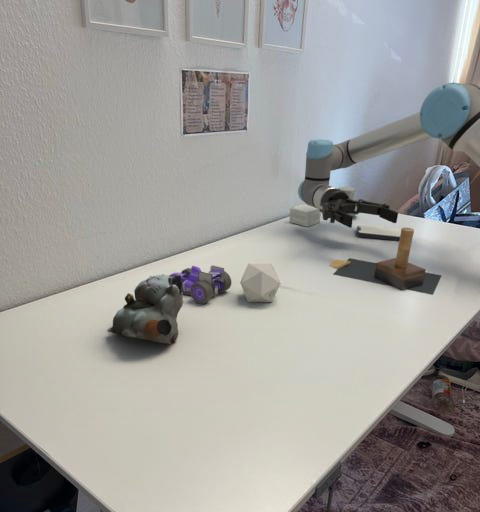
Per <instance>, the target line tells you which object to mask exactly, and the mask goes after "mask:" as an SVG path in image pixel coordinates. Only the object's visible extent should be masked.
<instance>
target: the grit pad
mask: <svg viewBox="0 0 480 512" xmlns="http://www.w3.org/2000/svg"><path fill="white" fill-rule="evenodd" d="M348 264H350V261H347V260H341V259H334V260H333V261H332V262H330V263H329V264H328V266H329V267H331V268H334V269H336V270H338V269H339V268H341V267H343V266H346V265H348Z"/></svg>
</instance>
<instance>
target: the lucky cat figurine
mask: <svg viewBox="0 0 480 512" xmlns="http://www.w3.org/2000/svg"><path fill="white" fill-rule="evenodd" d="M182 288H183V286H182V282H181V275H178V276H175V277H174V278H172V277H169V275H167V274H156V275H149V277H148V278H146V279H144V280H142V281H140V282H139V283H138V285H136V286H135V288H134V291H133V292H134V295H133V294H132V293H130V292H129V293H127V294H126V295H125V297H124V301H125V302H126V304H124V305H123V307H122V308H120V309H119V310H117V311H116V313H115V315H114V316H113V318H112V326H111V327H109V328H108V329H106V332H107V333H111V334H115V335H119V336H120V337H127V338H132V339H137V340H147V341H151V342H155V343H160V344H168V345H169V344H171V345H173V344H175V343H176V340H177V339H178V337H179V327H178V321H177V318H178V314H179V312H180V311H181V309H182V308H183V304H184V299H183V297H184V296H183V295H184V294H182V292H181V290H182Z"/></svg>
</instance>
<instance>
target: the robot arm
mask: <svg viewBox="0 0 480 512" xmlns="http://www.w3.org/2000/svg"><path fill="white" fill-rule="evenodd" d="M431 138H434V139H437V140H441V141H442V142H443V143H444V144H445V145H446V146H447V147H448V148H449V149H450V150H451V151H452V152H456V153H457V152H459V153H460V152H464V153H465V154H466V156H468V157H469V158H470V159H471V160H472V161H473V162H474V163H475V164H476V165H477V167H479V168H480V86H479V85H477V84H474V83H458V82H447V83H444V84H442V85H439V86H437V87H435V88H433V89H432V90H431V91H430V92H429V93H427V95H426V97H425V98H424V99H423V102H422V104H421V107H420V110H419V111H418V112H416V113H413V114H411V115H408V116H406V117H404V118H400V119H398V120H395V121H393V122H391V123H388V124H385V125H383V126H380V127H378V128H375V129H373V130H370V131H367V132H365V133H363V134H359V135H357V136H356V137H353V138H350V139H347V140H345V141H342V142H339V143H336V144H334V142H333V141H332V140H330V139H323V138H321V139H319V138H318V139H311V140H309V141H308V143H307V149H306V153H305V155H306V157H305V169H304V170H305V172H304V180H302V182H300V184H299V186H298V188H297V189H298V190H297V194H298V198H299V199H300V200H301V201H302V202H303V203H305V205H308V206H312V207H315V208H317V209H319V210H320V212H321V214H322V220H323V221H328V220H329V223H331V224H335V223H336V222H337V223H340V224H342V225H344V226H346V227H347V228H352V227H353V221H354V216H351V215H348V214H349V213H353V214H357V215H359V214H365V215H371V216H378V217H379V218H381V219H383V220H385V221H388V222H390V223H392V224H397V222H398V216H399V212H397V211H395V210H392V209H390V207H391V206H390V205H388V204H387V203H378V202H374V201H370V200H369V201H368V200H364V199H362V198H360V199H358V200H355V199H354V200H352V199H349V197H348V195H347V194H346V193H345V192H344V191H341V190H339V189H338V188H337V187H334V186H332V185H330V179H331V172H332V171H336V170H341V169H348V168H350V167H352V166H353V165H356V164H359V163H361V162H364V161H367V160H370V159H373V158H376V157H378V156H382V155H385V154H389V153H391V152H393V151H396V150H399V149H402V148H404V147H408V146H411V145H414V144H417V143H419V142H422V141H426V140H427V139H431ZM355 207H357V211H354V210H355ZM346 213H347V214H346Z"/></svg>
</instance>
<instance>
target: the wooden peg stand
mask: <svg viewBox="0 0 480 512" xmlns="http://www.w3.org/2000/svg"><path fill="white" fill-rule="evenodd" d="M400 230H401V234H400V240H399V241H398V246H397V252H396V256H395V258H391V259H386V260H381V261H377V262H376V263H377V264H376V270H375V277H374V278H376V279H379V280H381V281H383V282H385V283H387V284H389V285H392V286H394V287H393V288H396V289H399V290H400V291H405V290H406V289H409V288H413V287H417V286H420V285H423V281H424V276H425V272H426V268H423V267H421V266H418V265H416V264H413V263H411V262H409V259H410V253H411V249H412V243H413V237H414V232H415V229H414V228H412V227H402V228H400ZM392 286H391V287H392ZM406 291H407V290H406Z"/></svg>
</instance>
